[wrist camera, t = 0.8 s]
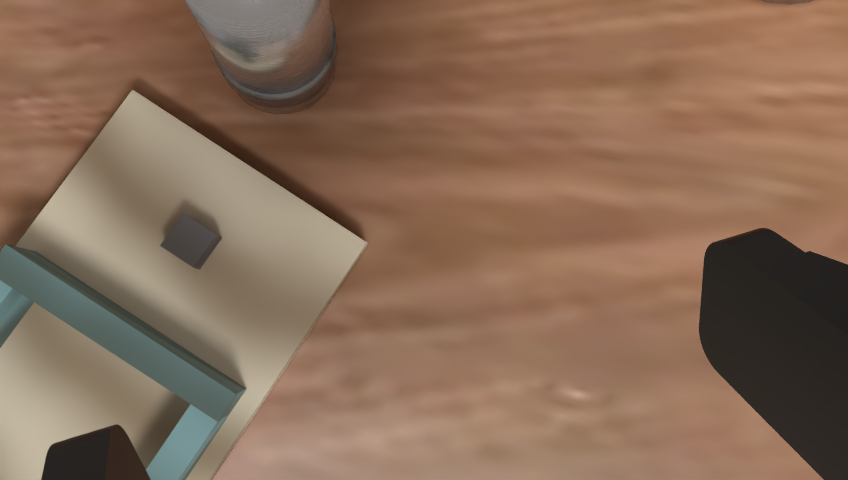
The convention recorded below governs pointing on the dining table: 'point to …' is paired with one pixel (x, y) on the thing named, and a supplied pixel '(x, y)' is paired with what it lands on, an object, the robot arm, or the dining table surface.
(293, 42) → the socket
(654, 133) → the dining table surface
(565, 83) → the dining table surface
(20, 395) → the beige board with frame
